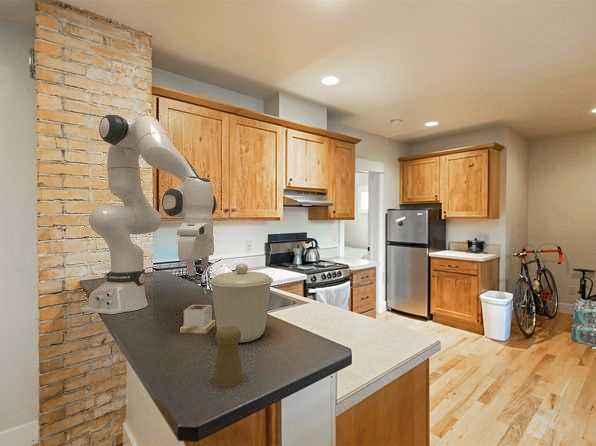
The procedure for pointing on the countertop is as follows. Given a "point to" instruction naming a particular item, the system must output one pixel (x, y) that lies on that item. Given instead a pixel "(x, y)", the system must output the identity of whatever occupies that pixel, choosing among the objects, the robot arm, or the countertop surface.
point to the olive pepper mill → (228, 358)
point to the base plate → (197, 328)
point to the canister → (242, 301)
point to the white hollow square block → (197, 315)
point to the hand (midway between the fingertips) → (198, 272)
